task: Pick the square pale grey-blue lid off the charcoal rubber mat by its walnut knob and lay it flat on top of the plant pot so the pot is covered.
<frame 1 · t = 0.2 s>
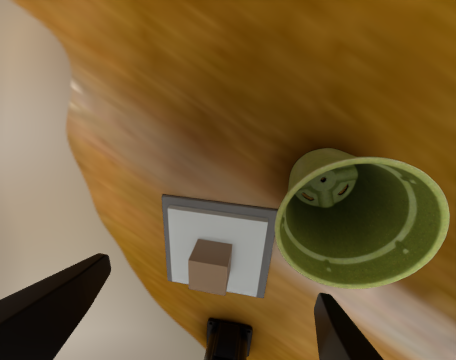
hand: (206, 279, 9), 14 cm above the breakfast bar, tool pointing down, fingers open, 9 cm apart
lid: (215, 250, 26), resting on mat
plant pot: (320, 178, 21), on the breakfast bar
mat: (216, 248, 26), on the breakfast bar
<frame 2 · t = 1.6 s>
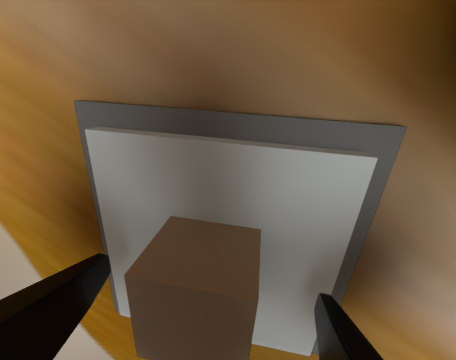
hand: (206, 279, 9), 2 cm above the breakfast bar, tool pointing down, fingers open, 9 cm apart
lid: (216, 247, 11), resting on mat
mat: (218, 242, 11), on the breakfast bar
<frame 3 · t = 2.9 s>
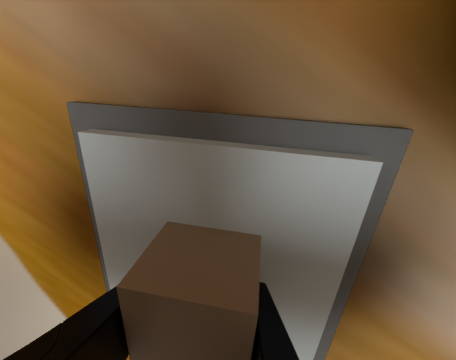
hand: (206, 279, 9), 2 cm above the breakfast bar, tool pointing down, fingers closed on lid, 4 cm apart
lid: (215, 253, 10), resting on mat, touching gripper
mat: (216, 247, 11), on the breakfast bar
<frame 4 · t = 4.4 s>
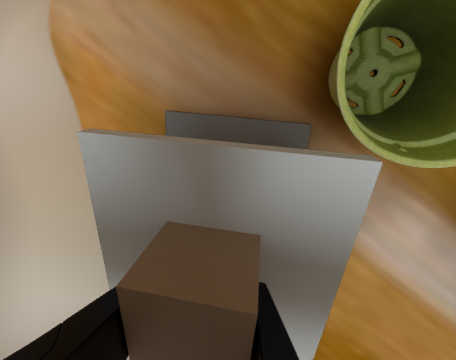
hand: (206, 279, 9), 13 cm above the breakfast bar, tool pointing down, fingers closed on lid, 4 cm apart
lid: (214, 252, 10), point 11 cm above the breakfast bar, touching gripper
plant pot: (368, 75, 16), on the breakfast bar
mat: (230, 183, 21), on the breakfast bar
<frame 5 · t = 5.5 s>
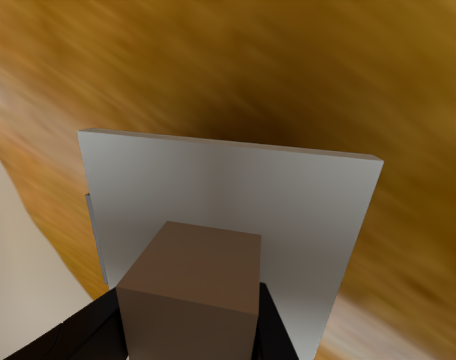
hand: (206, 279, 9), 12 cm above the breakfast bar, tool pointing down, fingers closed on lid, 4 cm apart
lid: (215, 252, 10), point 10 cm above the breakfast bar, touching gripper
mat: (148, 250, 25), on the breakfast bar
when the fingers open (12 cm above the breakfast bar, at t = 6.2 s): lid drops 2 cm, resting on plant pot.
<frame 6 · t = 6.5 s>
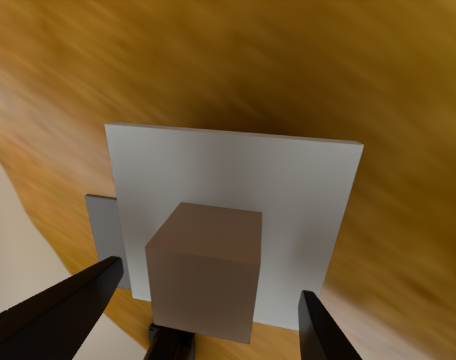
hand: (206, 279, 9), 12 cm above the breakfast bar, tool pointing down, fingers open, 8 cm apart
lid: (221, 231, 12), point 9 cm above the breakfast bar, touching plant pot
mat: (147, 251, 25), on the breakfast bar
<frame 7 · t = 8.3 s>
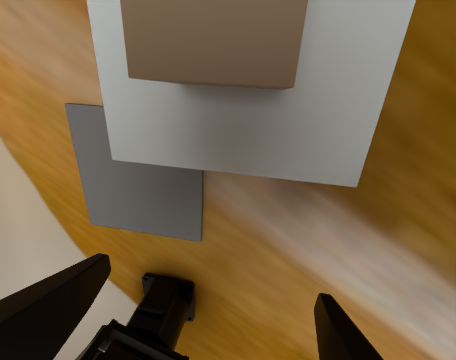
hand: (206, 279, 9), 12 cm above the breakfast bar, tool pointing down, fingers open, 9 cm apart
lid: (236, 30, 8), point 9 cm above the breakfast bar, touching plant pot
mat: (140, 176, 21), on the breakfast bar
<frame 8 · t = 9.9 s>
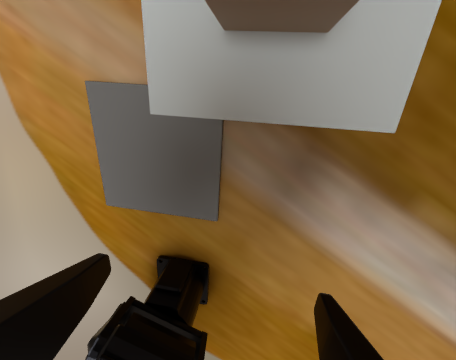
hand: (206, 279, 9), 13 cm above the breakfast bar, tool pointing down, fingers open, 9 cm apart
mat: (158, 155, 22), on the breakfast bar
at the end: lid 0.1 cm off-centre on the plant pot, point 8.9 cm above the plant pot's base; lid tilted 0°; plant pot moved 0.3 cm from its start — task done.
